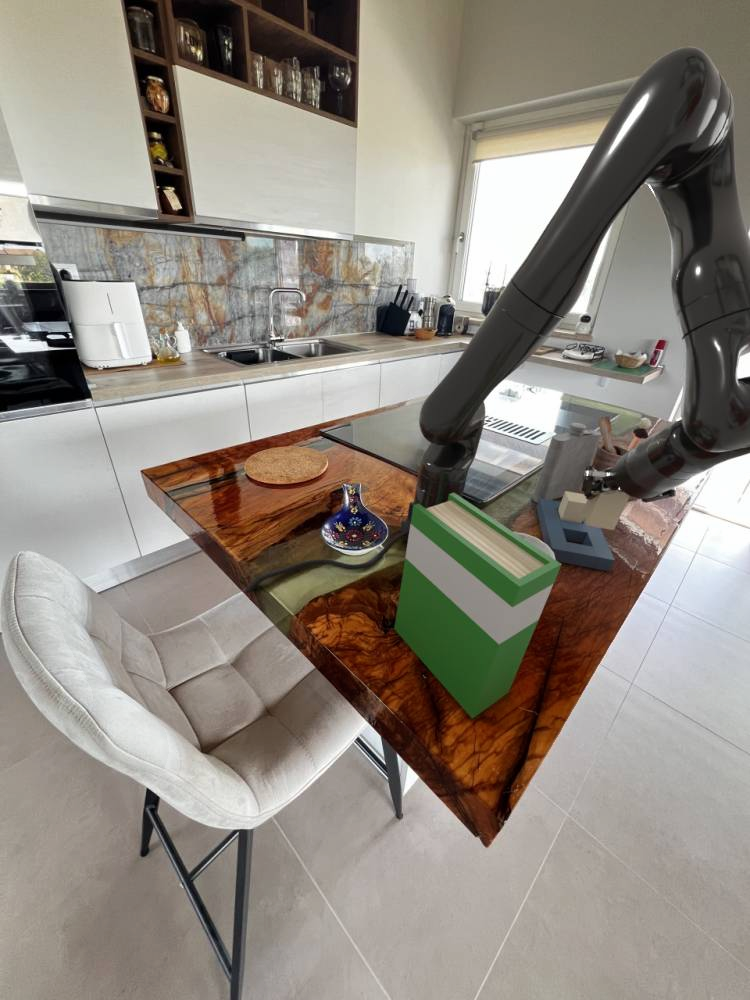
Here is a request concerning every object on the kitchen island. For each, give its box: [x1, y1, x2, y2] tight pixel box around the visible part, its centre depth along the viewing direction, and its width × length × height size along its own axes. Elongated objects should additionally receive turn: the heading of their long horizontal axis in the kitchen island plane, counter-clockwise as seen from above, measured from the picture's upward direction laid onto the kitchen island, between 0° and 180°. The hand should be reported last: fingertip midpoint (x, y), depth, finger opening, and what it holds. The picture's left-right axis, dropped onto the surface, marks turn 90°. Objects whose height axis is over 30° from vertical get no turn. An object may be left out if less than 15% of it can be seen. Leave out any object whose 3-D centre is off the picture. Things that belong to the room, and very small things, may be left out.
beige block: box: [582, 492, 629, 531], centre depth 73 cm, size 4×4×8 cm
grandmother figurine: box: [627, 417, 652, 450], centre depth 137 cm, size 8×4×13 cm, turn 17°
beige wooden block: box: [558, 491, 587, 523], centre depth 96 cm, size 4×4×8 cm
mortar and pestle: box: [591, 415, 630, 472], centre depth 110 cm, size 12×9×20 cm
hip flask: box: [532, 422, 602, 504], centre depth 106 cm, size 16×4×20 cm, turn 118°
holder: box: [536, 498, 616, 572], centre depth 94 cm, size 12×21×3 cm, turn 168°
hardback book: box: [393, 493, 563, 719], centre depth 57 cm, size 18×7×24 cm, turn 34°
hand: (603, 496), depth 74 cm, fingers closed on beige block, 4 cm apart
